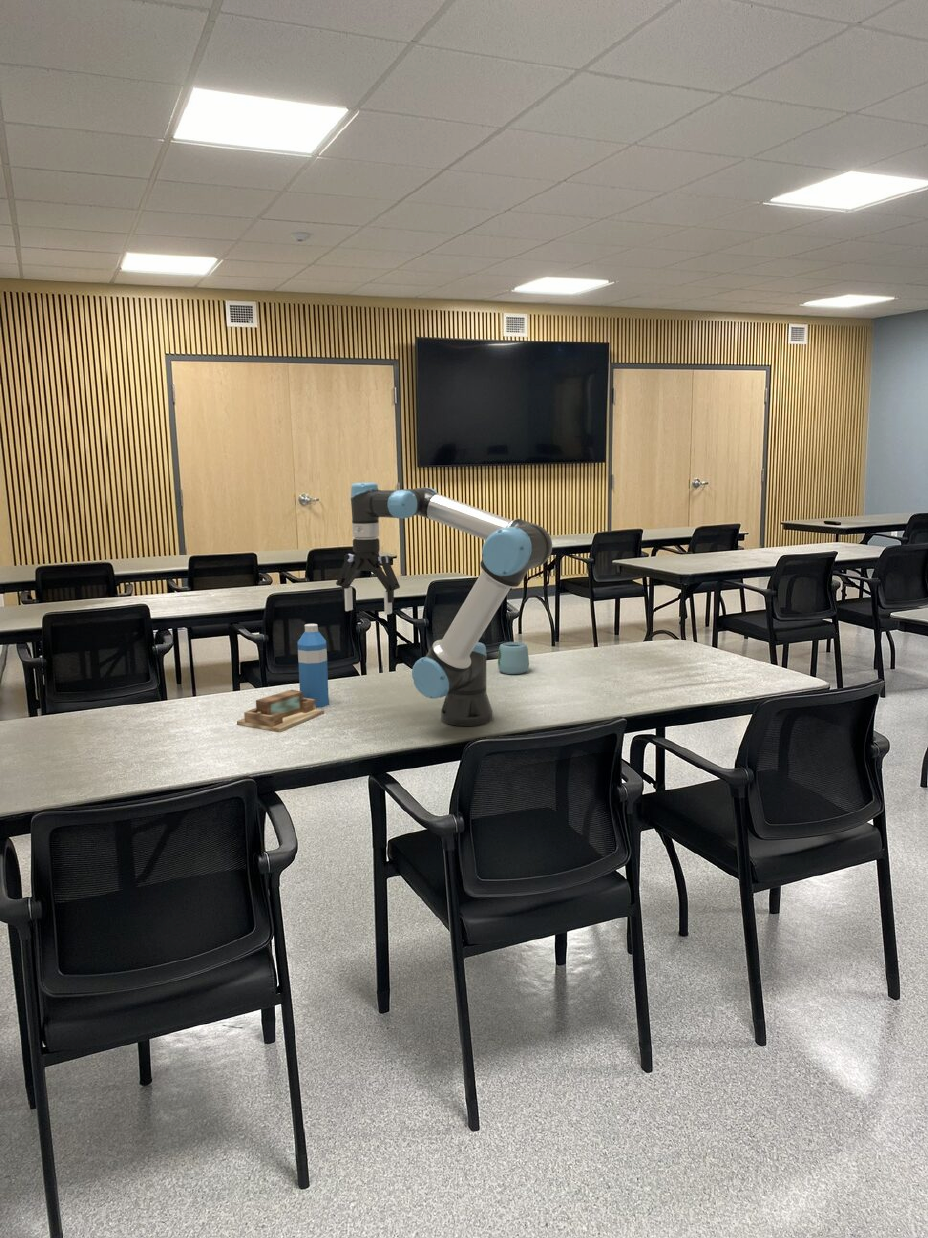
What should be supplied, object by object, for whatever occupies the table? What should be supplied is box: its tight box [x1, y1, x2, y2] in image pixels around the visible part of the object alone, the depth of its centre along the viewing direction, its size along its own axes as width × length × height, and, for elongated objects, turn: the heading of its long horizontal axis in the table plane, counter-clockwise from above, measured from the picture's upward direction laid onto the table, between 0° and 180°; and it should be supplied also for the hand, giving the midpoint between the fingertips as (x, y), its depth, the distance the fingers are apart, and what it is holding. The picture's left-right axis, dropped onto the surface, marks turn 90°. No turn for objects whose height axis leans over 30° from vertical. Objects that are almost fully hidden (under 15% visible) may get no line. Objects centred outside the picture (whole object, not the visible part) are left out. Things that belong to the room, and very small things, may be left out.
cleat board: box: [236, 698, 325, 733], centre depth 263 cm, size 16×20×5 cm
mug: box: [497, 641, 530, 675], centre depth 317 cm, size 15×11×10 cm
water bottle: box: [297, 623, 330, 709], centre depth 277 cm, size 9×9×25 cm
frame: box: [255, 689, 303, 718], centre depth 263 cm, size 14×5×6 cm, turn 144°
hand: (368, 612), depth 257 cm, fingers open, 13 cm apart
